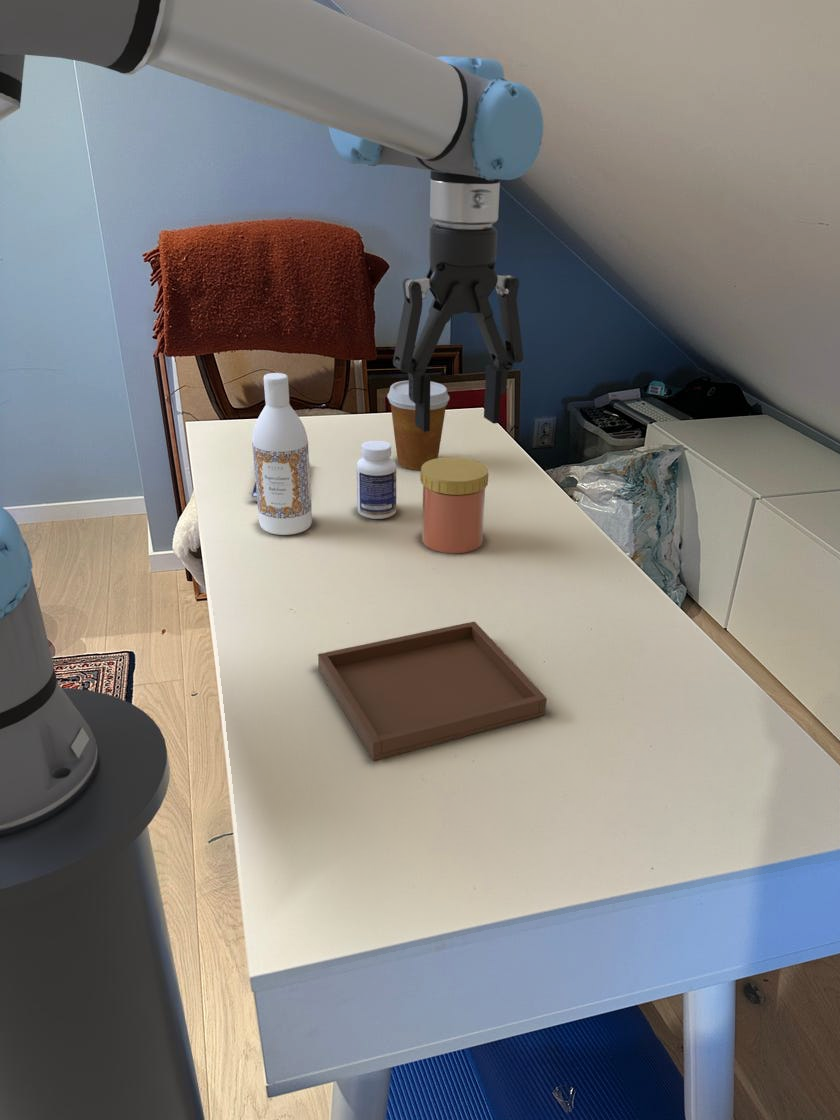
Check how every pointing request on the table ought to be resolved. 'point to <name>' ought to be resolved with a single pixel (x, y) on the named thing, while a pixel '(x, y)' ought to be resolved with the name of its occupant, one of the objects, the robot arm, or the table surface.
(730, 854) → the table surface
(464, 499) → the jar
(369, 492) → the pill bottle
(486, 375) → the robot arm
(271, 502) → the bath foam
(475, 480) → the lid
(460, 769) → the table surface
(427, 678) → the tray
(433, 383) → the disposable coffee cup
